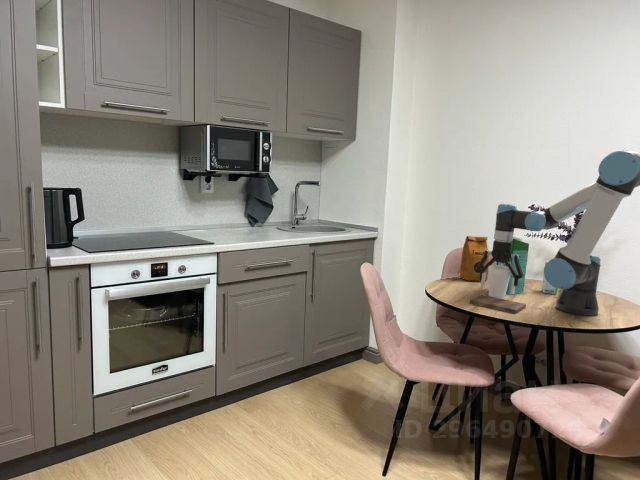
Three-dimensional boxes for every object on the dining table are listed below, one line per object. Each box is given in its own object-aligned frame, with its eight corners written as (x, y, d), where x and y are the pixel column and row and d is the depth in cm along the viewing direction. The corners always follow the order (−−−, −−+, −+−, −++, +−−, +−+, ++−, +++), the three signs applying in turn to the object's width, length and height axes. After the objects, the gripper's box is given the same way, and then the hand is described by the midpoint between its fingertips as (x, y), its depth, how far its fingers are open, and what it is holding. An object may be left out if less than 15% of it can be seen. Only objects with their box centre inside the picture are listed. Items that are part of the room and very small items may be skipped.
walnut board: (525, 307, 194) (525, 303, 194) (515, 313, 184) (516, 310, 183) (481, 298, 205) (481, 294, 205) (469, 303, 195) (469, 299, 194)
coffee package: (489, 283, 236) (494, 238, 233) (464, 281, 235) (469, 237, 232) (481, 278, 246) (486, 235, 243) (457, 277, 245) (462, 234, 242)
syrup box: (543, 292, 222) (547, 261, 220) (541, 290, 228) (545, 259, 226) (556, 294, 220) (560, 263, 218) (555, 291, 226) (559, 261, 224)
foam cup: (483, 297, 206) (486, 267, 204) (486, 293, 214) (490, 264, 213) (506, 301, 202) (510, 270, 200) (509, 297, 210) (513, 267, 208)
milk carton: (523, 293, 218) (530, 238, 215) (507, 294, 215) (514, 238, 211) (508, 288, 227) (515, 235, 223) (493, 289, 223) (499, 235, 220)
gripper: (535, 244, 200) (529, 294, 203) (478, 236, 215) (472, 283, 218) (530, 245, 194) (524, 297, 198) (471, 237, 209) (466, 286, 212)
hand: (497, 290), depth 208 cm, fingers open, 12 cm apart
